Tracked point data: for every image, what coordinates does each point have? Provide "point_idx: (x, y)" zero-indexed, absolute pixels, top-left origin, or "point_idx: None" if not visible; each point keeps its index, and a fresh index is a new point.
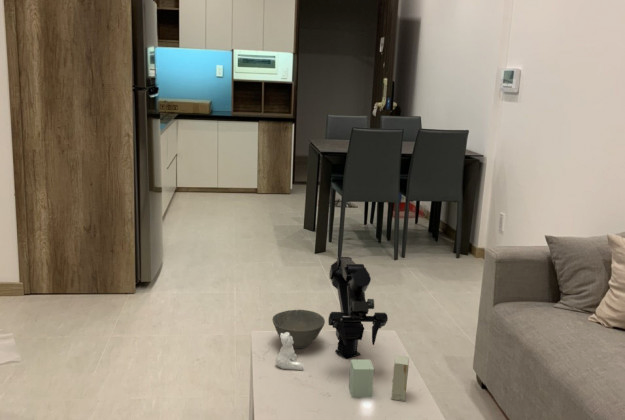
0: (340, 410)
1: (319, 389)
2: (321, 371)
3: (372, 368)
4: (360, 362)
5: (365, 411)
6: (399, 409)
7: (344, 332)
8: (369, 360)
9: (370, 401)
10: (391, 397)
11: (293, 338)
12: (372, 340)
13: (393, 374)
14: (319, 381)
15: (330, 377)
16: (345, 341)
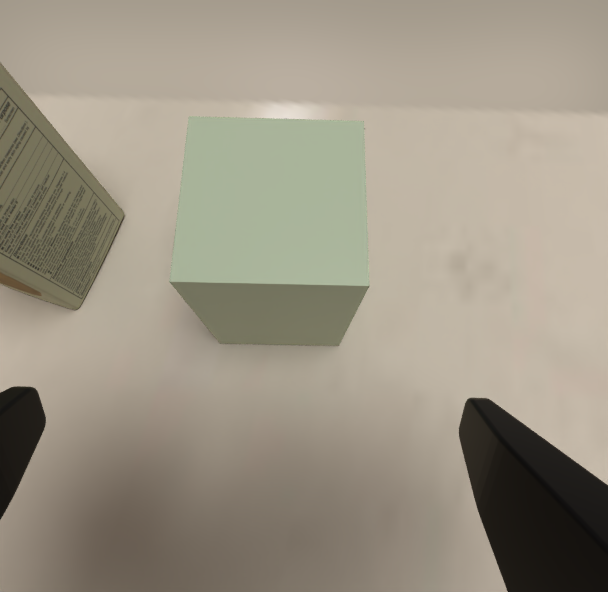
0: (408, 135)
1: (514, 325)
2: None
3: (198, 129)
4: (283, 228)
5: None
6: (117, 134)
7: (600, 531)
8: (182, 267)
9: None
10: (120, 208)
11: None
12: (2, 463)
13: (42, 114)
14: None
15: (445, 475)
16: (486, 414)
